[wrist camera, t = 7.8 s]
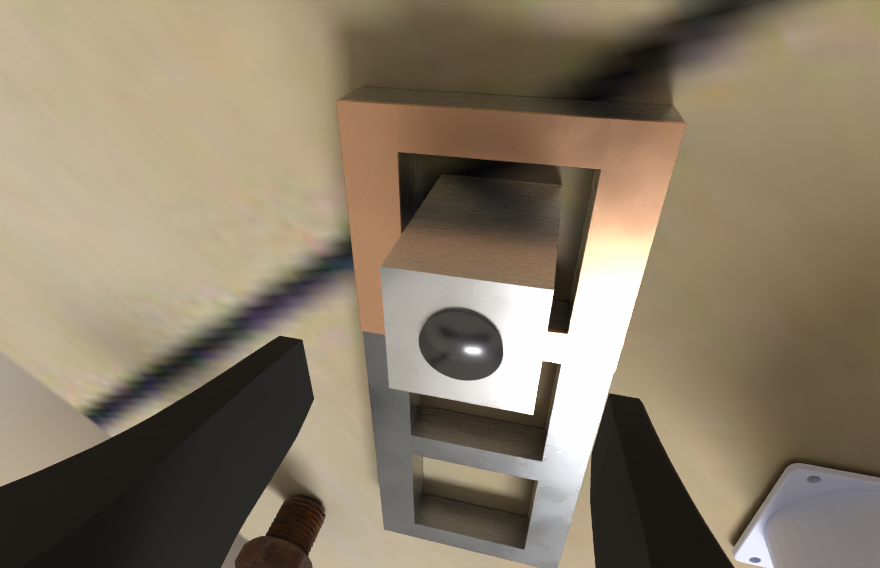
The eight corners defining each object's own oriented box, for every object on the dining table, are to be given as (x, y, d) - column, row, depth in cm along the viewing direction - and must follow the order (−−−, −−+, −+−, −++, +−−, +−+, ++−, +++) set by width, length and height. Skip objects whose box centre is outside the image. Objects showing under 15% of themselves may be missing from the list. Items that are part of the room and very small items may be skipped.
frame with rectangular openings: (673, 105, 15) (686, 124, 13) (557, 538, 29) (556, 575, 27) (361, 86, 17) (335, 100, 15) (394, 500, 31) (383, 532, 29)
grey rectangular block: (562, 184, 17) (553, 293, 12) (546, 287, 20) (532, 419, 14) (442, 173, 18) (377, 269, 12) (441, 273, 21) (387, 391, 15)
